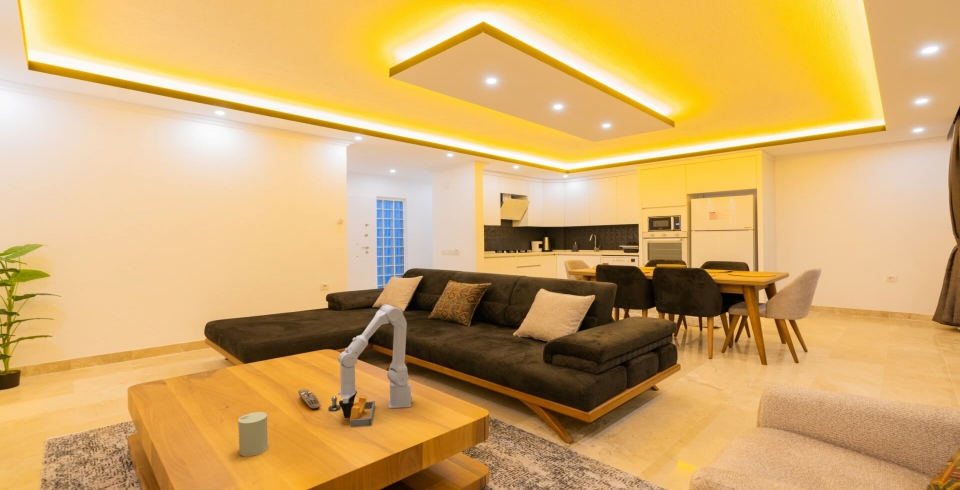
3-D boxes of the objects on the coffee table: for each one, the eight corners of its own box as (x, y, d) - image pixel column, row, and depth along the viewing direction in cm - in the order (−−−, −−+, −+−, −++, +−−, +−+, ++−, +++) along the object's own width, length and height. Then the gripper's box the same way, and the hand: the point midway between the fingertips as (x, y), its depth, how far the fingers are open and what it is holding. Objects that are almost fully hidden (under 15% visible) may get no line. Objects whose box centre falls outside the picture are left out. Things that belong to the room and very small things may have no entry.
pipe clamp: (354, 409, 184) (356, 395, 184) (364, 411, 184) (366, 396, 184) (345, 422, 172) (347, 406, 172) (355, 424, 172) (358, 408, 172)
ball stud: (341, 406, 190) (341, 393, 190) (339, 411, 185) (339, 398, 185) (329, 407, 189) (329, 394, 189) (327, 411, 184) (327, 399, 184)
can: (246, 443, 157) (245, 411, 157) (272, 442, 158) (271, 409, 158) (233, 457, 148) (232, 422, 148) (262, 455, 149) (260, 421, 148)
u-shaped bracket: (375, 407, 188) (374, 401, 188) (371, 425, 171) (371, 418, 171) (356, 408, 187) (356, 402, 187) (350, 427, 170) (350, 420, 170)
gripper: (340, 375, 184) (341, 407, 185) (334, 387, 170) (335, 422, 170) (357, 374, 185) (358, 406, 186) (353, 386, 171) (353, 420, 171)
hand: (348, 413), depth 178 cm, fingers open, 7 cm apart
